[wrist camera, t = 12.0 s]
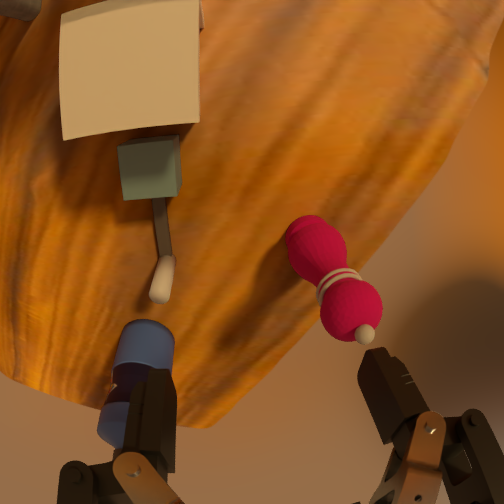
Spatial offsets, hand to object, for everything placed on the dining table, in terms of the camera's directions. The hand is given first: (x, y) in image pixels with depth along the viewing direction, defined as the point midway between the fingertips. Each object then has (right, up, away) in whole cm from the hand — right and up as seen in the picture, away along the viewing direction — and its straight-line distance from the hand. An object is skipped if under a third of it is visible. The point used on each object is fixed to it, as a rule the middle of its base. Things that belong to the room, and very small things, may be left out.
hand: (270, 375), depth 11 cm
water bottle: (-18, -9, +35) cm, 41 cm away
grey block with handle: (-12, +10, +25) cm, 30 cm away
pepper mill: (+7, +7, +29) cm, 31 cm away
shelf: (-12, +25, +17) cm, 33 cm away
